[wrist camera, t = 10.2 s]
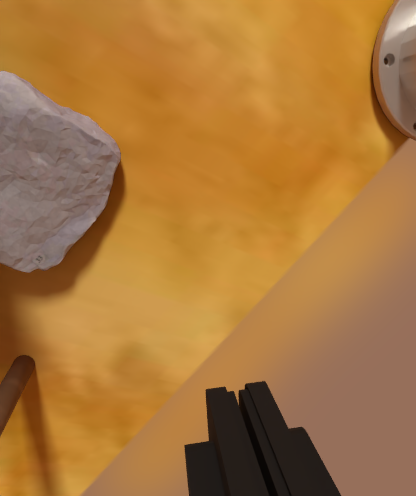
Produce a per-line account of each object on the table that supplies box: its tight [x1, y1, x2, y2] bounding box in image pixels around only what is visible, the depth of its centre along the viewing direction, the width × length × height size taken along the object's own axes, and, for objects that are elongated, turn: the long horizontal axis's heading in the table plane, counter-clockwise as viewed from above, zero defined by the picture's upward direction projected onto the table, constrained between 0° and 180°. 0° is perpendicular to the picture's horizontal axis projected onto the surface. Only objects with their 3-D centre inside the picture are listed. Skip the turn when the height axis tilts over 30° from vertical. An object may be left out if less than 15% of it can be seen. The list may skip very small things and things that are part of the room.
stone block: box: [0, 71, 121, 272], centre depth 27 cm, size 12×5×10 cm
